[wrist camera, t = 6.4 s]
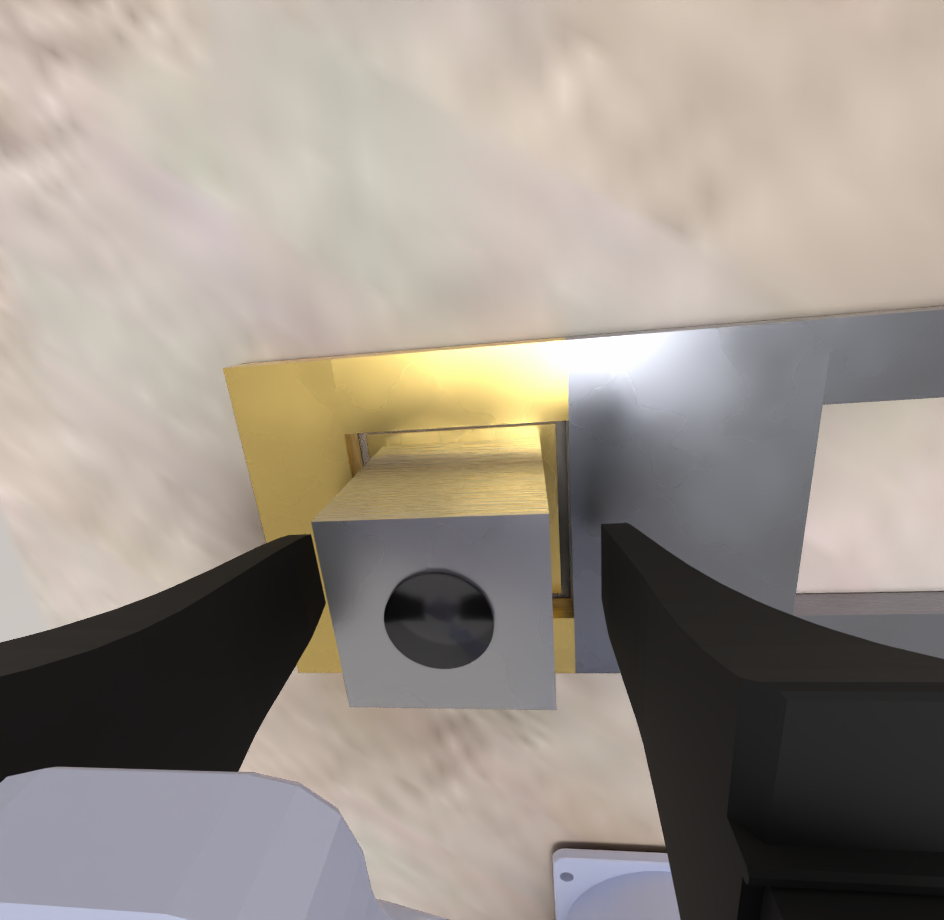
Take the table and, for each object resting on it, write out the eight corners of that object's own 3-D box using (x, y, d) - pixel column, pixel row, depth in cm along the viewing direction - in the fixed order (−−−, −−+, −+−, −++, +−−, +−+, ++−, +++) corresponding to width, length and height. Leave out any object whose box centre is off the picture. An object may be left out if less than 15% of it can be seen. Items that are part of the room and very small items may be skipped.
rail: (1099, 648, 14) (1142, 673, 13) (311, 651, 17) (298, 672, 16) (1242, 280, 11) (1312, 278, 10) (243, 363, 14) (222, 368, 13)
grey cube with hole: (545, 578, 15) (556, 714, 10) (403, 580, 15) (347, 711, 10) (539, 437, 13) (549, 516, 8) (383, 446, 14) (308, 524, 9)
